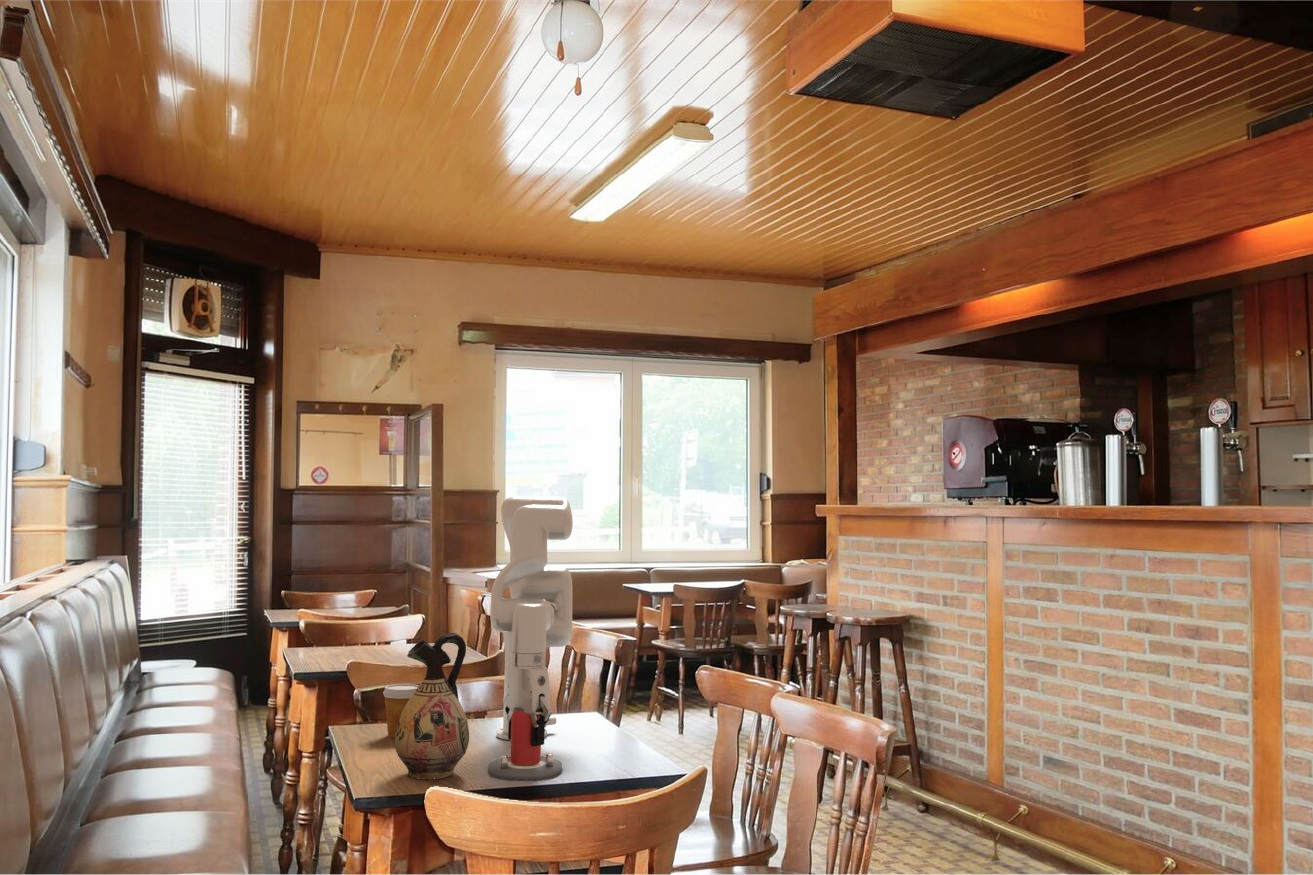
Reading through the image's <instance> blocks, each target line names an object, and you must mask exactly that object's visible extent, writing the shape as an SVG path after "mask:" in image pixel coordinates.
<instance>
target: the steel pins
mask: <svg viewBox="0 0 1313 875" xmlns="http://www.w3.org/2000/svg"><path fill="white" fill-rule="evenodd" d="M508 757H509V755H505V754H503V755H500V758H501V769H508ZM545 757H546V767H553V758H554V753H546V754H545Z"/></svg>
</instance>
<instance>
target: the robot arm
mask: <svg viewBox="0 0 1313 875" xmlns="http://www.w3.org/2000/svg"><path fill="white" fill-rule="evenodd" d="M502 501H503V502H502V504H501V509H500V510H501V511H500V513H501V514H500V515H501V521H502V526H503V530H504V532H505V535H506V538H507V541H508V544H509V551H510V552H509V553H510V554H509V555H510V558H509V559H510V560H509V562H508V564H506V565H505V566H504V567H503V568H502V569H501V570H500V572H499V573H498V574H497V576H496V578H495V579H494V582H493V584H492V587H491V593H490V609H489V610H490V618H489V619H490V624H491V627H492V629H493V630H495V631H496V632H500V633H503V634H502V635H503V644H504V645H503V646H504V678H503V679H504V681H503V682H504V683H503V684H504V685H503V699H502V704H503V716H502V717H503V718H502V728H499V729H497V731H496V737H497V738H498V739H502V740H506V741H511V717H512V713H513V711H514V707H515V708H517V709H523V710H524V713H526V714H528V715H531V719H532V722H533V726H534V727H532V728H531V746H539V745H541V746H544V745H545V738H546V737H547V735H548V731H547V730H546V727H547V726H552V725H553V726H554V725H556V723H557V718H556V716H552V714H553V709H552V707H551V691H550V688H551V687H550V686H551V685H550V678H549V677H550V676H549V671H548V667H547V666H546V658H547V657H546V656H547V655H546V654H547V648H556V647H557V648H561V647H562V648H563V647H566V646H568V645H569V644H570V642H571V640H572V636H573V578H572V575H571V572H570V570H569V568H567V567H564V566H561V565H547V564H548V540H549V541H553V540H554V541H564V540H568V539H569V538H570V536H571V534H572V532H573V531H572V530H573V525H574V524H573V521H574V520H573V512H572V507H571V506H570V501H568V499H567V498H565V497H561V496H535V495H534V496H533V495H532V496H529V495H528V496H526V495H525V496H523V495H519V496H511V497H508V498H506V499H504V500H502ZM508 588H509V594H510V597H511V598H504V593H505V591H506V590H507V589H508ZM536 710H538V712H536ZM536 716H539V717H540V718H539V719H538V720H537V717H536Z"/></svg>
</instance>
